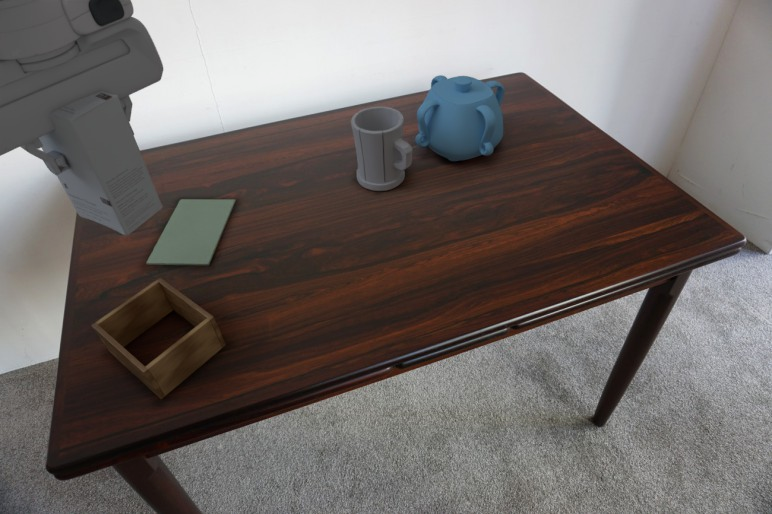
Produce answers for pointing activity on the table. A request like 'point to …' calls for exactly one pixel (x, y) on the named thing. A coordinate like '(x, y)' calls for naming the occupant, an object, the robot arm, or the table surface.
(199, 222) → the mat
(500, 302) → the table surface
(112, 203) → the cosmetic box
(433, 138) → the decorative pot
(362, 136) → the cup
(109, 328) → the wooden box
